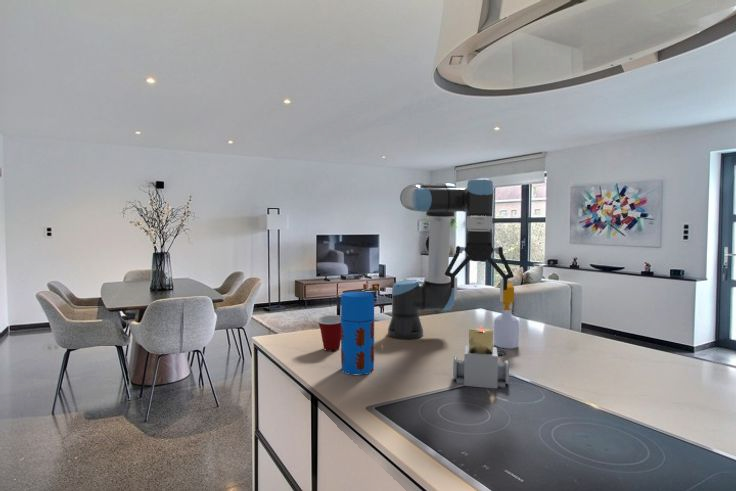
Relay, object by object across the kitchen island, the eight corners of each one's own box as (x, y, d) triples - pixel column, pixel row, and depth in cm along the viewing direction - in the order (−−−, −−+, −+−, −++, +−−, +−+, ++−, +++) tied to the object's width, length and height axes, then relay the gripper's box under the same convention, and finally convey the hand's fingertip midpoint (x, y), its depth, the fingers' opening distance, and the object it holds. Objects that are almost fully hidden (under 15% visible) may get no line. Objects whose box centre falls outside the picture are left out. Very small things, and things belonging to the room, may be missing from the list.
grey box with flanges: (452, 384, 129) (453, 353, 128) (454, 373, 138) (454, 344, 137) (509, 389, 125) (509, 357, 124) (507, 378, 134) (507, 348, 133)
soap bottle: (515, 342, 174) (516, 282, 172) (520, 349, 164) (522, 285, 163) (492, 342, 174) (493, 281, 173) (496, 348, 165) (497, 284, 164)
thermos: (379, 367, 144) (379, 292, 143) (365, 377, 135) (365, 297, 133) (350, 362, 149) (350, 290, 148) (335, 372, 139) (334, 295, 138)
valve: (493, 363, 127) (493, 332, 126) (468, 361, 128) (468, 331, 128) (492, 356, 133) (492, 326, 133) (469, 354, 135) (469, 325, 135)
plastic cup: (311, 351, 162) (311, 319, 162) (325, 344, 172) (325, 314, 172) (337, 354, 158) (337, 322, 157) (350, 346, 168) (350, 316, 167)
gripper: (436, 230, 131) (436, 300, 132) (524, 231, 125) (522, 304, 126) (438, 229, 138) (438, 295, 139) (521, 230, 132) (519, 299, 133)
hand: (478, 299), depth 133 cm, fingers open, 13 cm apart
